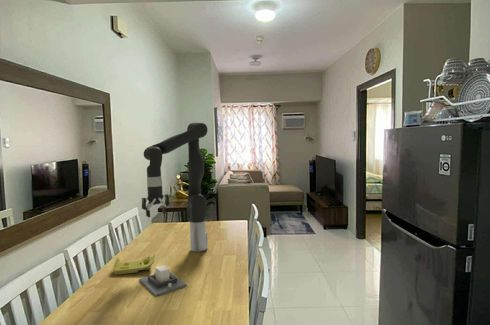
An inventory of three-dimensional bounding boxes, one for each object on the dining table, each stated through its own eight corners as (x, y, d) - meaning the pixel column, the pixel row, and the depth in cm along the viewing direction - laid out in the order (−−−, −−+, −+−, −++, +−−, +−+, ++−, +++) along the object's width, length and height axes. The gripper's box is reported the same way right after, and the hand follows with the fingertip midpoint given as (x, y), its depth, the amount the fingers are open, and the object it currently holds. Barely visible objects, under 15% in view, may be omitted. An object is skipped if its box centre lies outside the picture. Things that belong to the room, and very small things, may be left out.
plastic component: (111, 271, 144) (117, 255, 153) (115, 281, 148) (121, 265, 156) (152, 266, 145) (156, 251, 153) (155, 277, 148) (159, 261, 157)
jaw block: (164, 277, 139) (163, 265, 138) (169, 282, 134) (169, 268, 134) (155, 280, 136) (155, 267, 136) (161, 284, 131) (160, 271, 131)
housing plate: (167, 272, 147) (167, 266, 147) (186, 286, 132) (186, 279, 132) (139, 280, 138) (139, 275, 138) (155, 296, 123) (155, 289, 123)
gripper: (164, 182, 165) (165, 212, 166) (138, 186, 155) (140, 217, 156) (170, 184, 159) (172, 214, 160) (144, 187, 150) (146, 219, 151)
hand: (156, 215), depth 158 cm, fingers open, 8 cm apart
